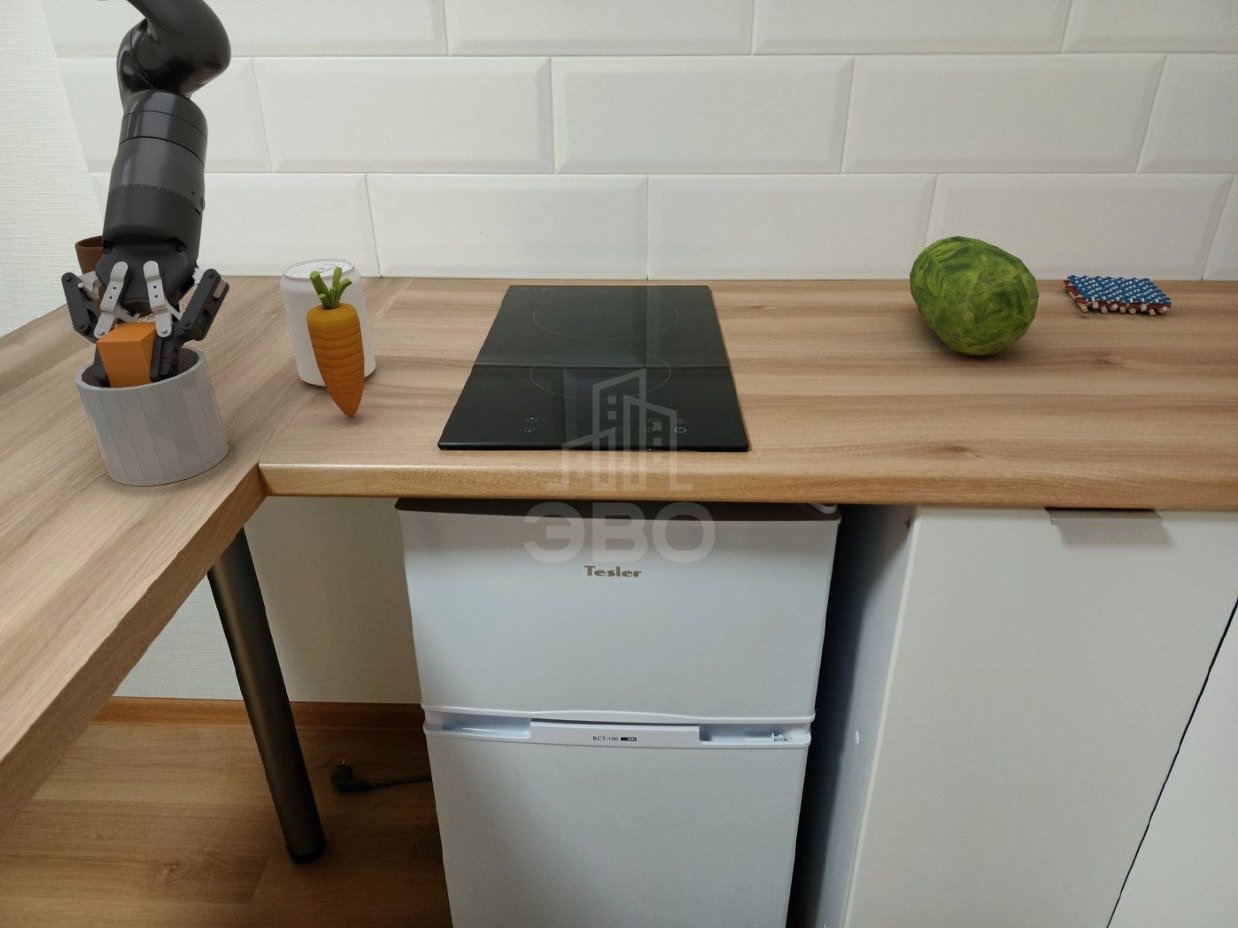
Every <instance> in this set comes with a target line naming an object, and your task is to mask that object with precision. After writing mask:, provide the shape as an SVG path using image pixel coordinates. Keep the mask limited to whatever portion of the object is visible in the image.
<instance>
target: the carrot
mask: <svg viewBox="0 0 1238 928" xmlns="http://www.w3.org/2000/svg"><path fill="white" fill-rule="evenodd" d="M341 273H342V268H340V267H336V268H335V270H334V274H333V281H332V287H331V288H330V292H329V290H328V288H327V286H326V285H325V283H324V282H323V280H322V279H321V277H320V274H319V273H318V271H313V272H312V273H311V274H310V279H311V281H312V284H313V286H314V289H315V291H316V293H317V294H318V297H319V298H320V300H321V302H322V304H321V305H318V306H316V307H314V308H312V309H310V310H309V312H308V313H307V325H308V330H309V335H310V339H311V343H312V347H313V351H314V355H315V359H316V363H317V366H318V369H319V371H320V374H321V376H322V379H323V381H324V384H325V386H326V387H325V386H324V387H325V388H326V390H327V392H328V394H329V396H330V398H331V399H332V400H333V402H334V404H335V405H336V406H337V407H338V409H340V411H341V412H342V413H343V414H344V415H345V416H347V417H348V418H353V417H354V416H355V415H356V414H357V412H358V410H359V407H360V405H361V402H362V399H363V398H362V397H363V393H364V389H365V377H364V351H363V342H362V335H361V328H360V321H359V318H358V314H357V311H356V309H355V307H353V306H352V305H350V304H347V303H340V302H339V301H340V298H341V295H342V293H343V291H344V290H345V288H346V287H347V286H349V285H351V284H352V281H351V280H350V279H348V278H346V279H344V280H342V281H341V282H340V277H341Z"/></svg>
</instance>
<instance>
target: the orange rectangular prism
mask: <svg viewBox="0 0 1238 928" xmlns="http://www.w3.org/2000/svg"><path fill="white" fill-rule="evenodd" d="M158 338H159V335H158V334H157V330H156V323H155V321H137V322H129V323H121V324H120V325H118V326H117V327H116V328H114V329H113V330H112V331H110V332H109V333H108V334H106V335H105V336H103V337H102V338H101V339H99V340H98V341H97V342H96V344H97V347H98V350H99V353H100V356H101V359H102V362H103V365H104V368H105V371H106V374H107V377H108V380H109V383H110V386H111V388H124V387H134V386H141V385H146V384H151V383H152V382H151V381H150V378H149V373H150V365H151V357H152V348H153V340H154V339H158ZM96 344H95V345H96ZM177 375H179V371H178V374H177Z"/></svg>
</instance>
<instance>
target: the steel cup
mask: <svg viewBox="0 0 1238 928" xmlns="http://www.w3.org/2000/svg"><path fill="white" fill-rule="evenodd" d="M93 363H94V360H93V361H91V362H89V363H88V364H86V365H85V366H83V367H81V368H79V370H78V371H77V373H76V374H75V375H74V382H75V386H76V388H77V391H78V394H79V397H80V399H81V402H82V405H83V407H84V408H83V409H84V411H85V415H86V416H87V419H88V422H89V425H90V428H91V430H92V433H93V436H94V439H95V442H96V444H97V447H98V451H99V452H100V456H101V459H102V461H103V464H104V467H105V470H106V471H107V475H108V476H109V477H110V479H112V480H113V481H114V482H116V483H118V484H119V483H120V484H122V485H126V486H132V487H151V486H152V487H153V486H161V485H167V484H171V483H176V482H177V483H178V482H180V481H184V480H187V479H189V478H193V477H195V476H198V475H201V474H202V473H204V472H205V473H206V472H207V471H208V470H211V469H212V468H214V467H215V466H217V465H218V464H220V462H222V461H223V460H224V459H225V458H226V456H227V455H228V453H229V450H230V445H229V439H228V435H227V433H226V428H225V425H224V421H223V416H222V414H221V410H220V407H219V406H220V405H219V401H218V399H217V394H216V392H215V391H216V390H215V387H214V383H213V380H212V376H211V373H210V369H209V365H208V362H207V358H206V355H205V353H204V351H203V350H201V349H199V348H196V347H195V346H190V345H189V346H188V345H185V344H184V345H183V346H182V347H181V349H180V356H179V364H178V371H179V375H177V376H175V377H172V378H169V379H166V380H162V381H159V382H156V383H151V384H146V385H141V386H134V387H124V388H106V387H104V386H103V385H101V384H100V383H99V382H98V380H97V378H95V377H94V375H93V372H92V371H93V365H94V364H93Z"/></svg>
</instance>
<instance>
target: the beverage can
mask: <svg viewBox="0 0 1238 928" xmlns="http://www.w3.org/2000/svg"><path fill="white" fill-rule="evenodd" d="M336 267H340V268H342V273H341V277H340V282H341V281H342V280H344V279H346V278H348V279H350V280H351V281H352V284H351V285H349V286H347V287H346V288H345V290H344V291H343V293H342V295H341V298H340V301H339V302H340V303H347V304H350V305H352V306H353V307H355V309H356V311H357V314H358V318H359V321H360V328H361V335H362V342H363V351H364V378H366V377H368V376H369V375H371V374H372V373H373V372H374V371H375V369H376V367H377V364H376V363H377V362H376V357H375V352H374V351H375V350H374V346H373V340H372V332H371V327H370V321H369V315H368V309H367V304H366V298H365V292H364V285H363V280H362V276H361V274H360V272H359V270H358V269H356V267H355V263H354V262H353V261H352V260H350V259H347V258H341V257H319V258H310V259H309V258H308V259H304V260H299V261H296V262H293V263H290V264H288V265H286V266H285V267H283V268H282V269H281V274H282V276H281V278H280V281H279V289H280V294H281V300H282V303H283V309H284V313H285V317H286V322H287V326H288V331H289V336H290V341H291V345H292V351H293V354H294V359H295V363H296V368H297V373H298V377H299V378H300V379H301V380H302V381H303V382H305V383H307V384H311V385H315V386H318V387H325V388H326V386H325V384H324V381H323V379H322V376H321V374H320V371H319V369H318V366H317V363H316V359H315V355H314V351H313V347H312V343H311V339H310V335H309V330H308V325H307V313H308V312H309V310H310V309H312V308H314V307H316V306H318V305H321V304H322V302H321V300H320V298H319V297H318V294H317V293H316V291H315V289H314V286H313V284H312V281H311V279H310V274H311V273H312V272H313V271H318V273H319V274H320V277H321V279H322V280H323V282H324V283H325V285H326V286H327V288H328V290H329V292H330V288H331V287H332V281H333V274H334V270H335V268H336Z"/></svg>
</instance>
